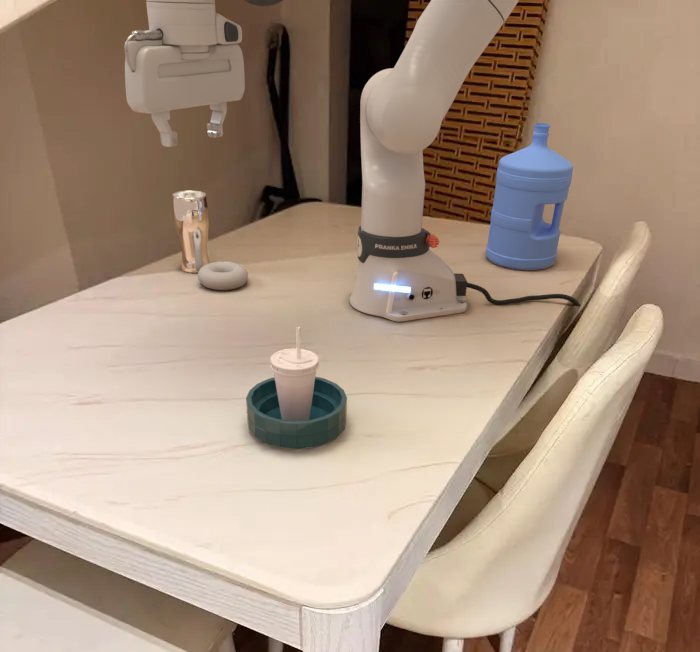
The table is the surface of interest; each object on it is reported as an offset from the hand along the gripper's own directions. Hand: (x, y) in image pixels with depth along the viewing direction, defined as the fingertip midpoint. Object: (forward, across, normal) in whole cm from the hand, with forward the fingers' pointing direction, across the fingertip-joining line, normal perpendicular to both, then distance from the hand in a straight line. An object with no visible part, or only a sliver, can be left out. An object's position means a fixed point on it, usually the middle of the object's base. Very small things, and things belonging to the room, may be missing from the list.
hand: (193, 141), depth 101 cm
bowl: (+31, -14, -28) cm, 44 cm away
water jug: (+31, +74, -27) cm, 84 cm away
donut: (+31, +22, +16) cm, 42 cm away
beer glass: (+31, +26, +27) cm, 48 cm away
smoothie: (+31, -14, -28) cm, 44 cm away
